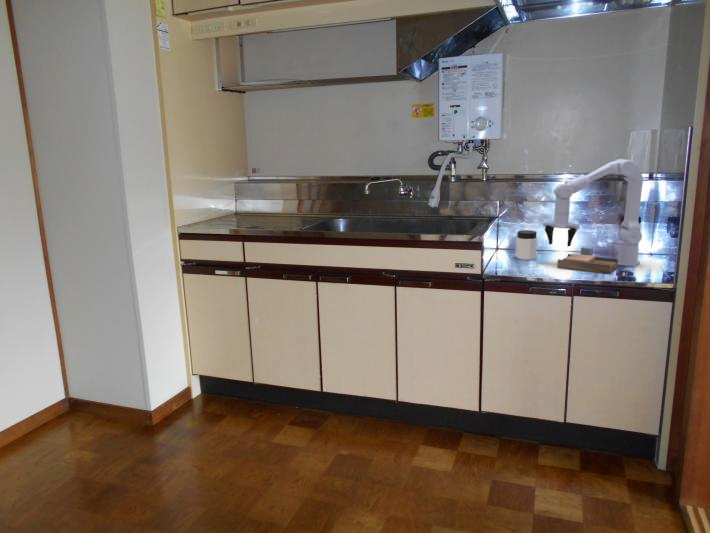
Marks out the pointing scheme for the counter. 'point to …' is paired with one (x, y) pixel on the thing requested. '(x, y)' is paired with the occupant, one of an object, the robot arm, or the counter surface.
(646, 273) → the counter surface
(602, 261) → the board
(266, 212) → the counter surface
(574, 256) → the lid
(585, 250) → the block
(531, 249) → the jar
